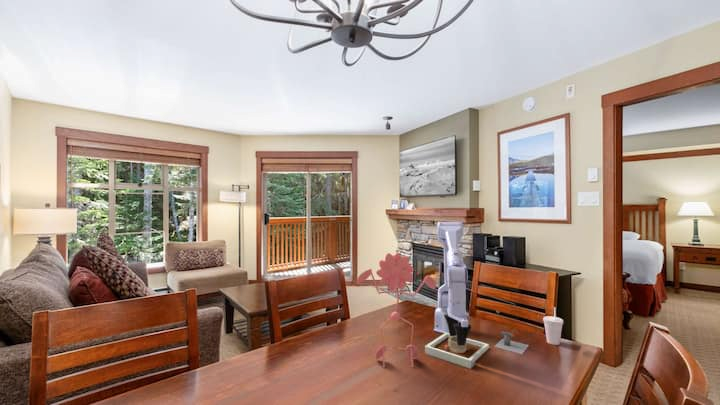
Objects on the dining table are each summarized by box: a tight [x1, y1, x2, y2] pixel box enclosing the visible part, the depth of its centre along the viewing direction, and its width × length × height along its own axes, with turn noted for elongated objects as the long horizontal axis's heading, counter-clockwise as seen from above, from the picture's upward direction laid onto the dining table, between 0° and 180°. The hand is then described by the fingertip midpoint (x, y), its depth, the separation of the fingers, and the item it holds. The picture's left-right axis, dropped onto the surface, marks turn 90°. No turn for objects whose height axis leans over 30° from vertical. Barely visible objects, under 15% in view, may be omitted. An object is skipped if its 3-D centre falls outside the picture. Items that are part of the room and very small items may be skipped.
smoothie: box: [542, 306, 564, 346], centre depth 119 cm, size 6×6×14 cm
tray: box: [424, 333, 490, 369], centre depth 113 cm, size 16×16×2 cm
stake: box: [494, 330, 529, 355], centre depth 116 cm, size 9×9×5 cm
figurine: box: [356, 252, 437, 368], centre depth 110 cm, size 15×26×35 cm, turn 92°
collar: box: [444, 336, 471, 354], centre depth 113 cm, size 8×6×4 cm
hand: (457, 340), depth 113 cm, fingers open, 7 cm apart
